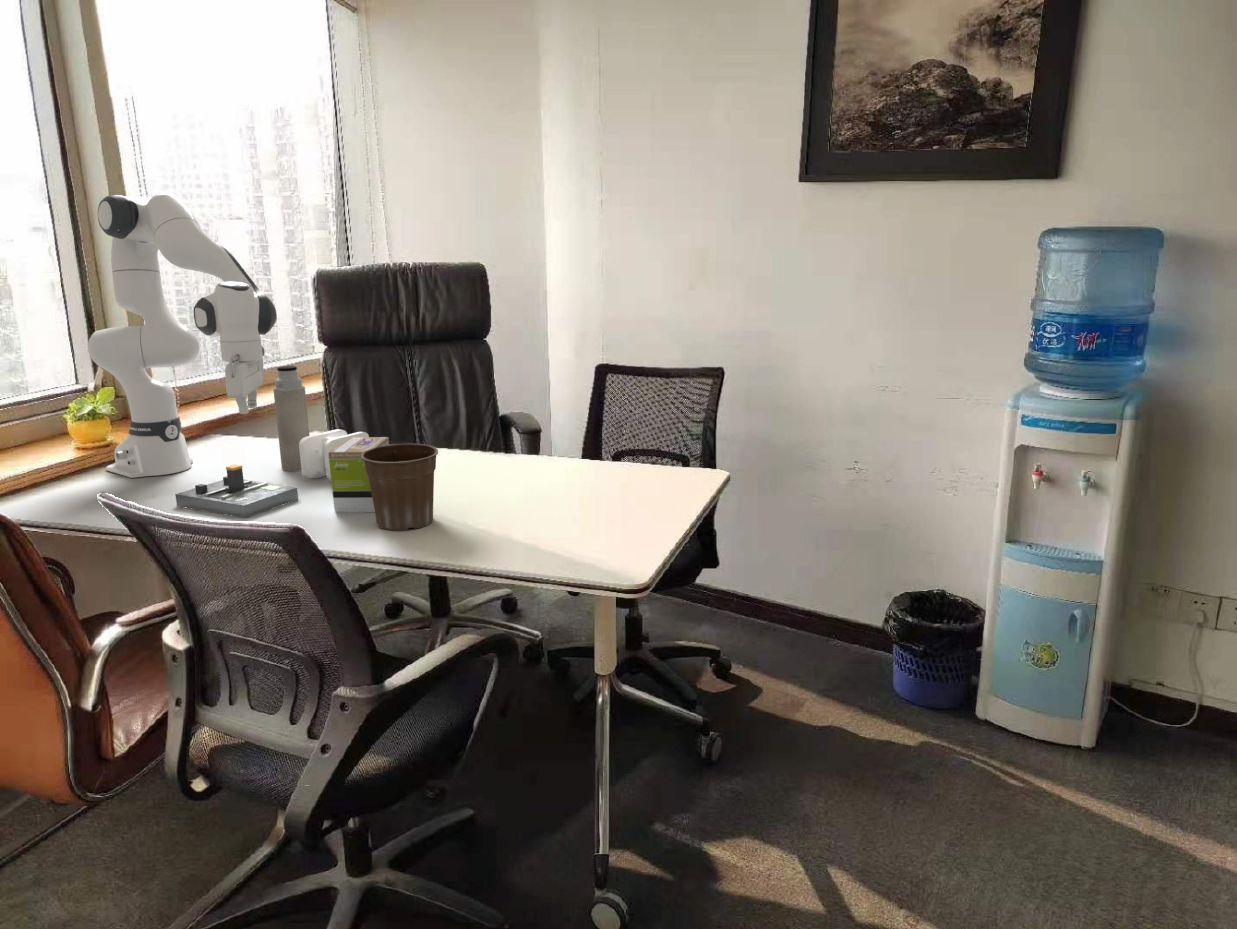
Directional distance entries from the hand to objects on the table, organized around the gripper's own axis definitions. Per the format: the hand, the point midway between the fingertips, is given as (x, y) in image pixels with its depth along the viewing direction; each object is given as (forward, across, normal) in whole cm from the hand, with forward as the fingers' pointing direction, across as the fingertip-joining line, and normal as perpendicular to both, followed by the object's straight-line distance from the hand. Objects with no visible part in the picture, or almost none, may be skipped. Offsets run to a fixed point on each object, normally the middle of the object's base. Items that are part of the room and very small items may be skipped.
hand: (248, 410), depth 203 cm
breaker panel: (+21, -5, +3) cm, 22 cm away
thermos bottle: (+21, +28, -4) cm, 35 cm away
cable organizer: (+22, +16, -16) cm, 31 cm away
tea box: (+22, -11, -26) cm, 36 cm away
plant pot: (+22, -27, -37) cm, 51 cm away
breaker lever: (+18, -5, +3) cm, 19 cm away
